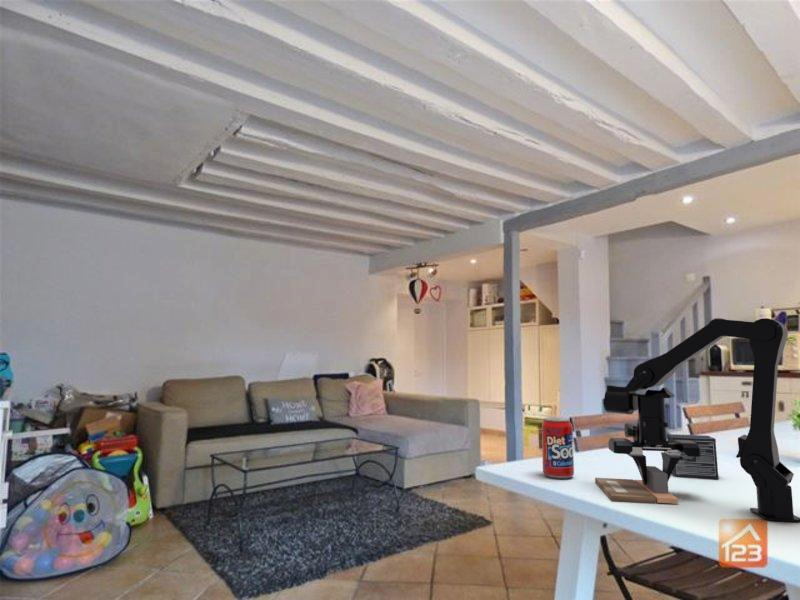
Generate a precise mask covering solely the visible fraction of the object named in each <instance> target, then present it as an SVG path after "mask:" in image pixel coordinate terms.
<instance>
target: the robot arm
mask: <svg viewBox="0 0 800 600" xmlns="http://www.w3.org/2000/svg"><path fill="white" fill-rule="evenodd" d="M788 333H789V332H788V329H787V327H786V326H785V325H784V324H783V323H782V322H780V321H778V320H775V319H773V318H766V317H765V318H758V319H756V320H755V321H744V320H736V319H735V320H734V319H733V320H732V319H727V318H722V317H717V318H715V317H714V318H713V319H711V320H710V321H709V322H708V324H706V325H705V326H703V327H702V328H700V329H699V330H697V331H695V332H694V333H693V334H691V335H690V336H688V337H687V338H686V339H684V340H682V341H680V343H678V344H677V345H675V346H674V347H673V348H671V349H670V350H668V351H666V352H665V353H663V354H660V355H658V356H655V357H653V358H651V359H648V360H645V361H644V362H641V363H639V364H638V365H636V366H635V368H634V369H633V376H632V378H631V379H630V381H629V382H628V383H627V385H626V386H622V385H621V386H618V385H615V384H609V385H606V391H605V394H604V397H603V399H602V401H603V408H604V410H605V412H606V413H611V414H621V415H633V414H634V411H637V412H638V414H637V415H638V418H637V422H636V425H635V424H634V423H633V422H632V423H630V422H629V423H627V422H625V423H624V436H625V437H610V438H609V440H608V450H610V451H611V452H612V453H613V454H620V455H622V454H623V455H628V456H629V457H631V458H632V460H634V463H635V465H636V467H637V470H638V472H639V474H640V477H641V480H643V483H644V484H645V485H647V466H648V465H647V457H646V455H644V453H643V451H646V452H648V451H651V452H652V451H653V452H660V455H661V459H662V469H661V470H662V471H663V472H665V473H666V474H668V482H669V480H670V478H671V476H672V471H673V470H674V468H675V466H676V465H677V463H678V461H679V460H683V457H682V456H681V452H683V453H684V454H685V455H686V456H695V457H701V448H700V446H699V445H698V444H697V443H695V442H693V441H690V440H674V442H673V443H668V441H667V428H668V427H669V425H668V422H667V420H666V417H667V416H666V403H665V402H666V401H665V400H666V399H672V398H675V396H676V395H675V394H674V393H673V392H671V391H670V390H669V389H668V388H667V387H666V386H665V387H661V389H658V390H657V389H649V388H656V387H660V386H662V385H664V384H665V383H666V382H667V381H668V380H669V379H670V378H671V377H672V376H673V375H675V373H676V371H677V370H678V369H679V368H680V367H681V366H682V365H684V364H685V363H687V362H688V361H690V360H692V359H694V357H696V356H698V355H700V353H702V352H704V351H705V350H706V349H708V348H709V347H711V346H713V345H714V344H715V343H717V342H718V341H721V339H723V338H725V337H728V338H737V339H738V338H739V339H746V340H748V341H749V346H750V350H751V354H752V358H753V374H752V375H753V376H752V390H751V391H752V392H751V409H750V421H749V430H748V433H747V435H746V434H743V435H741V436H739V437H737V445H738V451H737V454H736V456H735V458H737V459H738V458H739V464H740V466H741V468H742V469H743V471H744V472H745V473H747V474H748V475H749V476H750V478H751V479H752V481H753V484H754V485H755V487H756V488H755V489H756V503H757V507H749V511H751V512H752V513H754V514H755V515H757V516H760V517H761V518H762V519H764V520H766V521H776V522H778V521H779V522H792V523H793V522H795V523H800V517H799V516H797V515H795V514H794V506H793V491H792V486H791V485H789V484H791V483H792V480H793V477H794V473H793V472H792V471H791V469H789V468H788V467H786V465H785V464H783V463H782V462H781V461H780V456H779V447H778V443H777V439H776V436H775V415H776V404H777V403H776V401H777V385H778V371H779V363H780V360H781V358H782V355H783V352H784V350H785V346H786V343H787V340H788V335H789V334H788ZM639 391H645V393H642V392H641V393H637V392H639ZM628 438H632V439H633V440H632V441H631V440H629V439H628Z"/></svg>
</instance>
